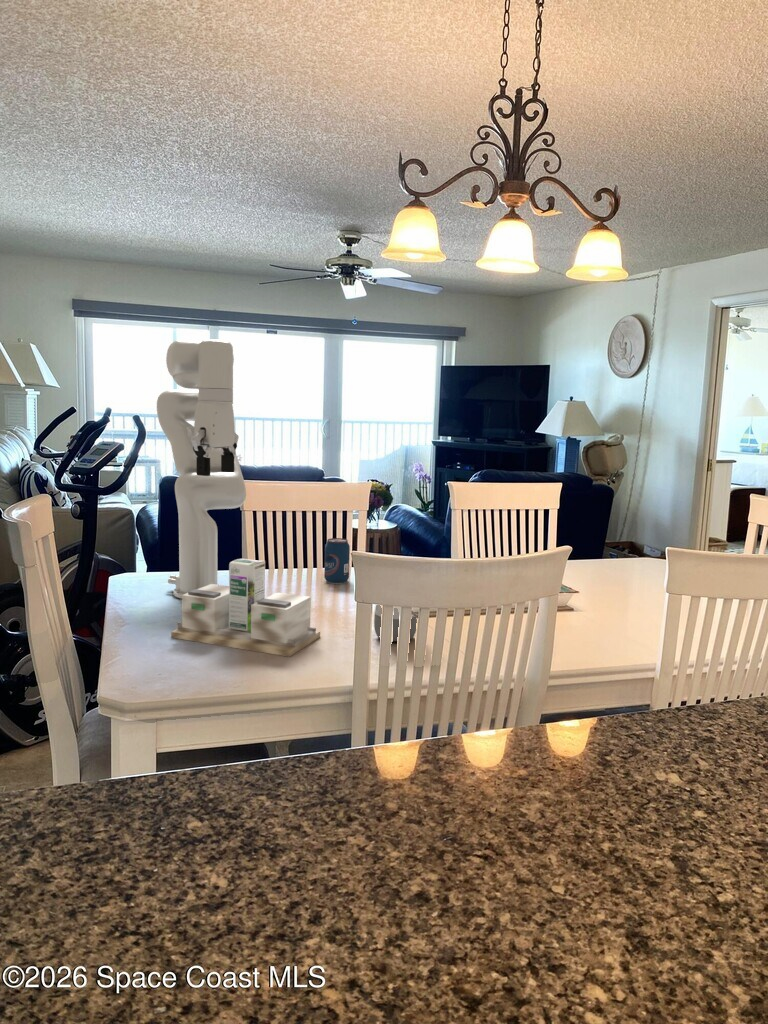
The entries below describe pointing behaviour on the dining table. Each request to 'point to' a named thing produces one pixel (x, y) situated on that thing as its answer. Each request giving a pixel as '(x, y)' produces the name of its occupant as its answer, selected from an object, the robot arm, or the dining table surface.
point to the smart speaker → (395, 623)
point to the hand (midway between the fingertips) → (215, 473)
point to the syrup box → (244, 591)
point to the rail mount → (273, 621)
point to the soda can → (337, 561)
